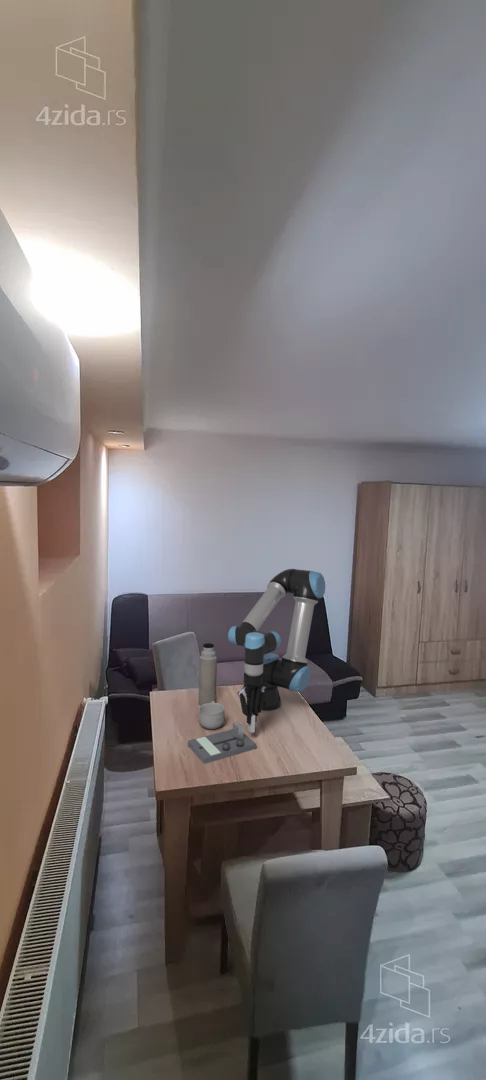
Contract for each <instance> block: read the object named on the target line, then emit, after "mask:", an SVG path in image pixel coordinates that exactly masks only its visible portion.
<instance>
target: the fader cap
mask: <svg viewBox="0 0 486 1080" xmlns="http://www.w3.org/2000/svg"><path fill="white" fill-rule="evenodd" d="M232 729H233V736H234V737H235V738H236V739H244V734H245V732H244V730H245V727H244V725H243V724H241V722H239V721H236V722H232Z"/></svg>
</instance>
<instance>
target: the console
mask: <svg viewBox="0 0 486 1080" xmlns="http://www.w3.org/2000/svg"><path fill="white" fill-rule="evenodd" d="M187 747H189V748H190V750H191V751H192V752H193V753H194V754H195V756H196V757H198V759H199V760H200V761H201V762H202V763H203V765H205V764H208V763H212V762H215V761H219V760H222V759H226V758H229V757H232V756H236V755H239V754H243V753H246V751H247V752H250V751H253V750H257V743H256V742H255V741H254V740H252V739H251V738H250V737H249V736H248V735H246V734H245V733H244V739H236V738H235V737H234V736H233V728H232V729H228V730H225V731H220V732H217V733H212V734H208V735H204V736H201V737H197V738H193V739H190V740H189V739H188V740H187Z"/></svg>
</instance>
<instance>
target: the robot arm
mask: <svg viewBox="0 0 486 1080" xmlns="http://www.w3.org/2000/svg"><path fill="white" fill-rule="evenodd" d="M266 588H267V589H266V590H265V591H264V592H263V594H262V595H261V597H260V598H259V599H258V601H257V602H256V603H255V605H254V606H253V607H252V608H251V610H249V613H248V614H247V615H246V617H245V618H244V619H243V621H242V622H241V624H240V625H238V626H237V625H233V626H231V627H230V629H229V630H228V633H227V640H228V641H229V643H231V644H233V645H235V646H241V647H244V667H243V668H244V670H243V671H244V673H243V687H242V690H241V691H237V696H238V697H239V701H240V707H241V711H242V712H241V713H242V714H243V715H244V716H246V723H247V730H248V731H249V733H251V734H252V733H255V732H256V731H255V729H256V723H257V721H258V720H257V719H258V716H259V714H261V713H262V711H275V710H277V709H279V708H281V705H282V704H281V703H282V700H281V695H280V692H279V688H282V689H285V690H289V691H290V692H296V693H297V692H298V693H300V692H303V691H305V689H306V688H307V686H308V685H309V683H310V679H311V677H312V675H311V674H312V672H311V670H312V669H311V668H310V667H309V666H308V663H309V662H308V661H307V659H306V655H307V654H306V653H307V647H308V642H309V636H310V633H311V632H310V631H311V625H312V620H313V614H314V608H315V606H316V605H317V604H319V599H321V598H323V597H324V595H325V593H326V581H325V578H324V575H323V574H322V573H321V572H319V571H318V572H317V571H314V570H305V569H296V568H288V569H285V570H283V571H281V572H279V573H278V574H276V575H275V576H274V577H273V578H271V579H270V581H269V582H268V584H267V586H266ZM288 594H293V597H292V598H293V600H294V602H295V604H294V610H293V614H292V620H291V625H290V631H289V637H288V642H287V643H288V644H287V646H286V653H285V654H284V655H283V656H281V659H280V656H279V654H277V653H272V652H274V651H275V652H276V650H278V649H279V648H280V646H281V645H282V639H281V636H280V634H279V633H278V632H276V631H268V632H263V631H259V630H260V628H261V627H262V625H263V624H264V622H265V621H266V620H267V618H268V617H269V615H270V614H271V613H272V611H273V609H275V607H276V606H277V604H278V603H279V601H280V600H281V599H283V598H285V597H286V595H288Z"/></svg>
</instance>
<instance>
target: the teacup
mask: <svg viewBox="0 0 486 1080" xmlns="http://www.w3.org/2000/svg"><path fill="white" fill-rule="evenodd" d="M225 708H226V707H225V706H224V705H223V704H222V703H218V702H216V703H215V701H212V702H211V703H206V704H203V705H201V706H200V705H199V707H198V720H199V723H200V725H201V726H202V727H203V728H204V729H206V730H212V731H213V730H216V729H218V728H220V727H221V726H222V725H223V724H224V722H225Z"/></svg>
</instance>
